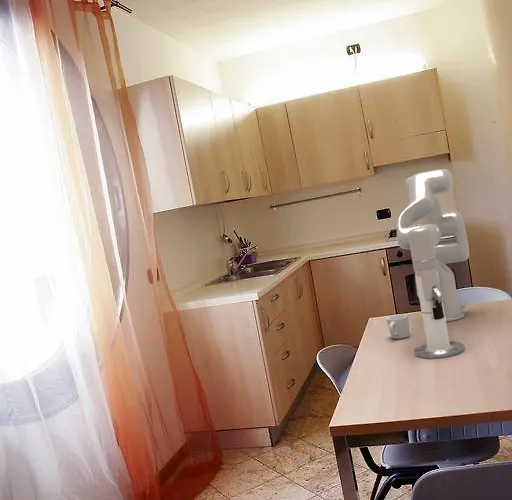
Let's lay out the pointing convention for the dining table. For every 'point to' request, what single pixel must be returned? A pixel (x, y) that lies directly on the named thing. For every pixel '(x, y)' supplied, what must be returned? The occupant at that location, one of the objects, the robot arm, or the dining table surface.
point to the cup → (398, 326)
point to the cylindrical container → (432, 322)
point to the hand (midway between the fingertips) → (433, 316)
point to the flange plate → (428, 354)
